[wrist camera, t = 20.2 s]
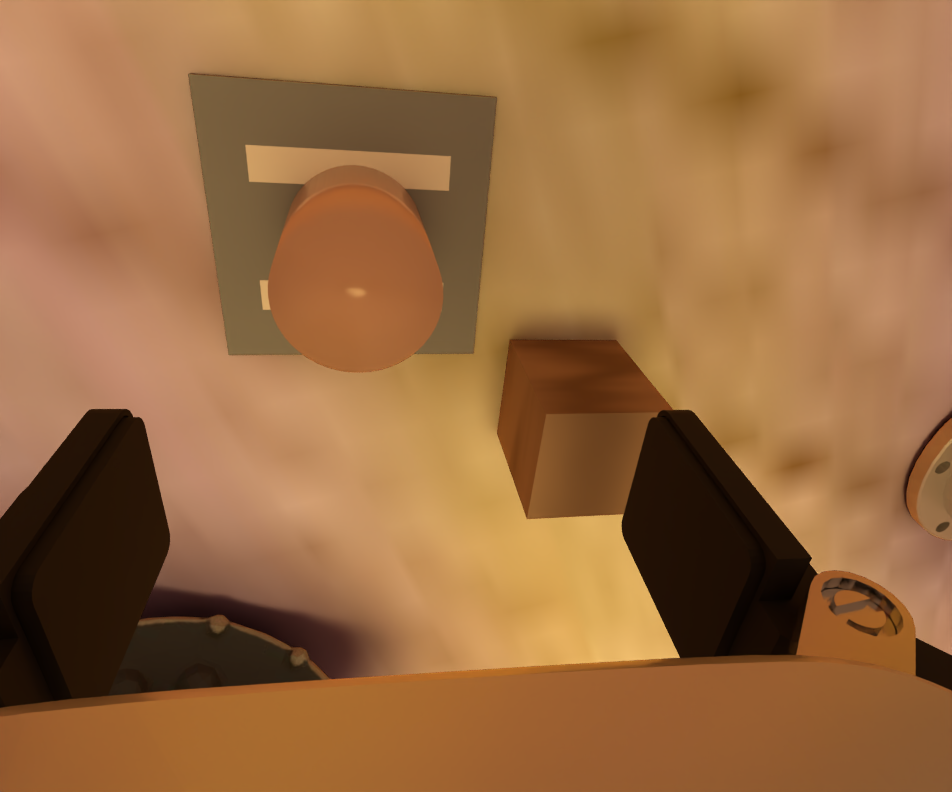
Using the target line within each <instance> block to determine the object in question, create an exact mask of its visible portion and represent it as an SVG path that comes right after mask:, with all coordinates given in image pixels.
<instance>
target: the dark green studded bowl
mask: <svg viewBox="0 0 952 792" xmlns="http://www.w3.org/2000/svg"><path fill="white" fill-rule="evenodd" d="M329 679H330V678H329V677H328V676H327V675H326V674H325V673H324V672H323V671H322V670H321V669H320V668H319V667H318V666H317V665H316V664H315V663H314V662H313V661H311V660H310V658H309V656H308V654H307V652H306V650H305V649H303V648H301V647H291V646H289V645H287V644H285V643H283V642H281V641H280V640H278V639H276V638H274V637H272V636H270V635H268V634H266V633H263V632H260V631H257V630H254V629H251V628H248V627H245V626H242V625H239V624H236V623H233V622H231V621H229V620H228V619H227V618H226V617H225V616H224V615H215V616H212V617H208V618H202V617H158V618H145V619H140V620H139V622H138V625H137V627H136V630H135V632H134V634H133V637H132V639H131V642H130V644H129V646H128V649H127V651H126V654H125V656H124V658H123V661H122V663H121V665H120V668H119V670H118V673H117V675H116V677H115V680H114V682H113V685H112V687H111V689H110V692H109V694H108V696H113V695H125V694H137V693H149V692H161V691H172V690H185V689H199V688H213V687H228V686H242V685H257V684H271V683H285V682H300V681H314V680H329Z"/></svg>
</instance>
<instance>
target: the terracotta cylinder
mask: <svg viewBox="0 0 952 792" xmlns="http://www.w3.org/2000/svg"><path fill="white" fill-rule="evenodd" d="M268 299H269V305H270V309H271V312H272V315H273V318H274V320H275V322H276V324H277V326H278V328H279V330H280V331H281V333H282V334H283V336H284V337H285V338H286V339H287V341H288V342H289V343H290V344H291V345H292V346H293V347H294V348H295V349H296V350H297V351H299V352H300V353H301V354H303V355H304V356H306V357H307V358H308V359H310V360H312V361H314V362H316V363H318V364H320V365H323V366H325V367H328V368H331V369H335V370H339V371H345V372H371V371H377V370H382V369H385V368H388V367H391V366H393V365H396V364H398V363H400V362H402V361H404V360H405V359H407V358H409V357H410V356H411V355H413V354H414V353H415V352H417V351H418V350H419V349H420V348H421V347H422V346H423V345H424V344H425V342H426V341H427V340H428V339H429V337H430V336H431V334H432V332H433V331H434V329H435V327H436V325H437V323H438V320H439V318H440V314H441V310H442V305H443V284H442V277H441V274H440V271H439V267H438V264H437V261H436V259H435V256H434V253H433V250H432V247H431V244H430V242H429V239H428V236H427V233H426V230H425V227H424V225H423V222H422V219H421V216H420V213H419V211H418V208H417V206H416V204H415V202H414V201H413V199H412V197H411V196H410V194H409V193H408V192H407V191H406V189H405V188H404V187H403V186H402V185H400V184H399V183H398V182H397V181H396V180H394V179H393V178H392V177H390V176H388V175H387V174H385V173H383V172H381V171H378V170H376V169H373V168H369V167H366V166H358V165H344V166H337V167H334V168H330V169H327V170H325V171H323V172H321V173H319V174H317V175H315V176H314V177H312V178H311V179H310V180H309V181H307V182H306V183H305V184H304V185H303V186H302V188H301V189H300V190H299V191H298V193H297V194H296V196H295V197H294V199H293V202H292V204H291V206H290V209H289V212H288V215H287V218H286V222H285V225H284V228H283V231H282V234H281V237H280V240H279V244H278V247H277V250H276V253H275V256H274V259H273V262H272V266H271V269H270V273H269V279H268Z"/></svg>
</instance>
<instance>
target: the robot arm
mask: <svg viewBox="0 0 952 792" xmlns="http://www.w3.org/2000/svg"><path fill="white" fill-rule="evenodd" d="M906 497H907V507H908V510H909V512H910V515H911V516H912V517H913V519H914V520H915V521H916V522H917V523H918V524H919V525H920V526H921V527H922V528H924V529H925V530H926V531H927V532H928V533H930V534H931V535H933V536H935V537H938V538H941V539H943V540H951V541H952V417H951V418H950V419H949V420H948V421H947V422H946V423H945V424H944V425H943V426H942V427H941V428H940V429H939V430H938V432H937V433H936V434H935V435H934V437H933V438H932V439H931V440H930V441H929V443H928V444H927V445H926V447H925V448H924V450H923V451H922V453H921V455H920V456H919V458H918V459H917V461H916V463H915V466H914V468H913V470H912V473H911V475H910V477H909V482H908V487H907V492H906ZM622 533H623V537H624V540H625V542H626V544H627V546H628V548H629V550H630V552H631V554H632V557H633V559H634V561H635V563H636V565H637V567H638V569H639V571H640V574H641V576H642V578H643V580H644V582H645V584H646V586H647V588H648V591H649V593H650V595H651V597H652V599H653V601H654V603H655V605H656V608H657V610H658V612H659V614H660V616H661V618H662V620H663V622H664V624H665V627H666V629H667V631H668V633H669V635H670V637H671V639H672V641H673V644H674V646H675V648H676V650H677V652H678V654H679V656H680V658H668V659H651V660H634V661H617V662H599V663H582V664H565V665H548V666H531V667H515V668H499V669H483V670H467V671H451V672H435V673H420V674H405V675H389V676H374V677H358V678H343V679H329V680H314V681H300V682H285V683H271V684H257V685H242V686H228V687H213V688H199V689H185V690H172V691H161V692H149V693H137V694H125V695H113V696H108V694H109V692H110V689H111V687H112V685H113V682H114V680H115V677H116V675H117V673H118V670H119V668H120V665H121V663H122V661H123V658H124V656H125V654H126V651H127V649H128V646H129V644H130V642H131V639H132V637H133V634H134V632H135V630H136V627H137V625H138V622H139V620H140V618H141V615H142V613H143V611H144V608H145V606H146V603H147V601H148V599H149V596H150V594H151V591H152V589H153V587H154V584H155V582H156V580H157V577H158V575H159V572H160V570H161V568H162V565H163V563H164V560H165V558H166V556H167V553H168V550H169V545H170V533H169V528H168V523H167V519H166V515H165V510H164V506H163V502H162V498H161V493H160V489H159V485H158V480H157V476H156V472H155V467H154V463H153V459H152V455H151V450H150V446H149V442H148V437H147V433H146V429H145V425H144V422H143V420H142V419H141V418H140V417H133V415H132V413H131V412H130V411H129V410H127V409H91V410H89V411H88V412H87V413H86V414H85V415H84V416H83V418H82V419H81V420H80V421H79V423H78V424H77V425H76V426H75V428H74V429H73V430H72V432H71V433H70V434H69V435H68V437H67V438H66V439H65V440H64V442H63V443H62V444H61V445H60V447H59V448H58V449H57V451H56V452H55V453H54V454H53V456H52V457H51V458H50V459H49V461H48V462H47V463H46V465H45V466H44V467H43V468H42V470H41V471H40V472H39V473H38V475H37V476H36V477H35V478H34V480H33V481H32V482H31V484H30V485H29V486H28V487H27V488H26V489H25V490H24V491H23V492H22V493H21V494H20V495H19V496H18V497H17V499H16V500H15V501H14V502H13V504H12V505H11V506H10V507H9V509H8V510H7V511H6V512H5V514H4V515H3V516H2V517H1V519H0V792H952V655H950V654H948V653H946V652H944V651H941V650H939V649H937V648H935V647H933V646H931V645H929V644H927V643H925V642H923V641H921V640H919V639H917V638H916V634H915V625H914V621H913V618H912V616H911V615H910V613H909V611H908V610H907V608H906V607H905V606H904V605H903V604H902V603H901V602H900V601H899V600H898V599H897V598H896V597H895V596H894V595H893V594H892V593H890V592H889V591H888V590H886V589H885V588H883V587H882V586H881V585H879V584H877V583H875V582H873V581H871V580H869V579H867V578H865V577H862V576H859V575H856V574H853V573H850V572H844V571H837V570H833V571H824V572H822V573H820V574H817V572H816V571H815V570H814V569H813V567H812V566H811V565H810V564H809V563H810V561H811V559H812V557H811V556H810V555H809V554H808V553H807V551H806V550H805V549H804V548H803V546H802V545H801V544H800V543H799V541H798V540H797V539H796V538H795V537H794V535H793V534H792V533H791V532H790V530H789V529H788V528H787V527H786V525H785V524H784V523H783V522H782V520H781V519H780V518H779V517H778V516H777V514H776V513H775V512H774V511H773V509H772V508H771V507H770V506H769V504H768V503H767V502H766V501H765V500H764V498H763V497H762V496H761V495H760V493H759V492H758V491H757V490H756V488H755V487H754V486H753V485H752V484H751V482H750V481H749V480H748V479H747V477H746V476H745V475H744V474H743V472H742V471H741V470H740V469H739V468H738V466H737V465H736V464H735V463H734V461H733V460H732V459H731V458H730V456H729V455H728V454H727V453H726V452H725V450H724V449H723V448H722V447H721V445H720V444H719V443H718V442H717V440H716V439H715V438H714V437H713V436H712V434H711V433H710V432H709V431H708V429H707V428H706V427H705V426H704V424H703V423H702V422H701V421H700V420H699V418H698V417H697V416H696V415H695V413H693V412H692V411H690V410H662V411H660V412H659V413H658V415H657V417H653V418H651V419H650V420H649V423H648V426H647V429H646V433H645V437H644V440H643V444H642V448H641V452H640V455H639V459H638V463H637V467H636V470H635V474H634V478H633V481H632V485H631V489H630V493H629V496H628V500H627V504H626V508H625V511H624V515H623V519H622Z"/></svg>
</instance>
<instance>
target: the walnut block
mask: <svg viewBox="0 0 952 792" xmlns="http://www.w3.org/2000/svg"><path fill="white" fill-rule="evenodd" d="M662 410H673V409H672V408H671V407H670V405H669V404H668V403H667V402H666V401H665V399H664V398H663V397H662V396H661V394H660V393H659V392H658V391H657V390H656V388H655V387H654V386H653V385H652V383H651V382H650V381H649V380H648V378H647V377H646V376H645V375H644V374H643V372H642V371H641V370H640V369H639V367H638V366H637V365H636V364H635V363H634V361H633V360H632V359H631V358H630V356H629V355H628V354H627V353H626V352H625V350H624V349H623V348H622V347H621V345H620V344H619V343H618V342H617V340H510V342H509V350H508V357H507V364H506V372H505V379H504V386H503V394H502V401H501V408H500V416H499V423H498V430H497V434H498V437H499V440H500V443H501V446H502V449H503V452H504V454H505V457H506V460H507V463H508V466H509V469H510V472H511V474H512V477H513V480H514V483H515V486H516V489H517V492H518V495H519V497H520V500H521V503H522V506H523V509H524V512H525V515H526V518H527V519H537V518H557V517H576V516H595V515H615V514H624V511H625V508H626V504H627V500H628V496H629V493H630V489H631V485H632V481H633V478H634V474H635V470H636V467H637V463H638V459H639V455H640V452H641V448H642V444H643V440H644V437H645V433H646V429H647V426H648V423H649V420H650V419H651V418H653V417H657V415H658V413H659V412H660V411H662Z"/></svg>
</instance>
